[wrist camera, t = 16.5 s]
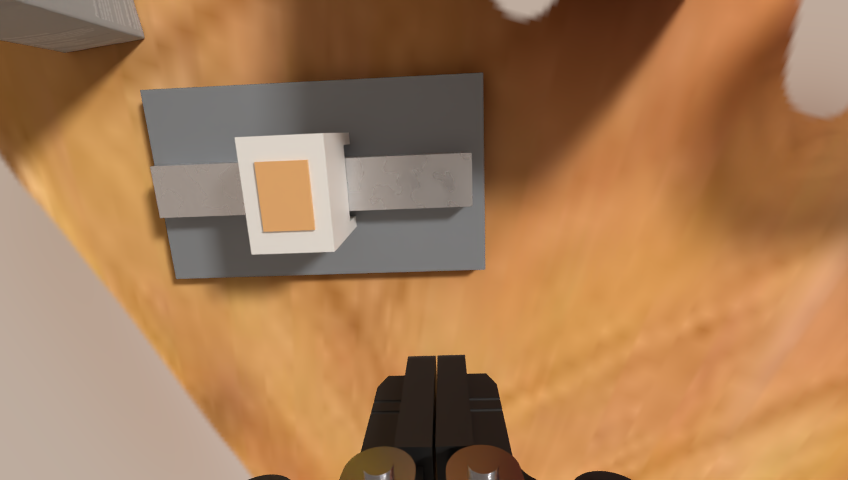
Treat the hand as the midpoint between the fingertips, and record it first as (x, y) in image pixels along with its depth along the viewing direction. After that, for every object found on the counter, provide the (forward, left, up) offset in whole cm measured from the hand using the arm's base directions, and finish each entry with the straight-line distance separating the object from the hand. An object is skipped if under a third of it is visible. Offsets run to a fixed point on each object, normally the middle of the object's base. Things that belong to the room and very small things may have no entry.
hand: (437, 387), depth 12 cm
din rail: (+3, +9, -21) cm, 23 cm away
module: (+3, +9, -21) cm, 23 cm away
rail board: (+3, +9, -23) cm, 25 cm away
